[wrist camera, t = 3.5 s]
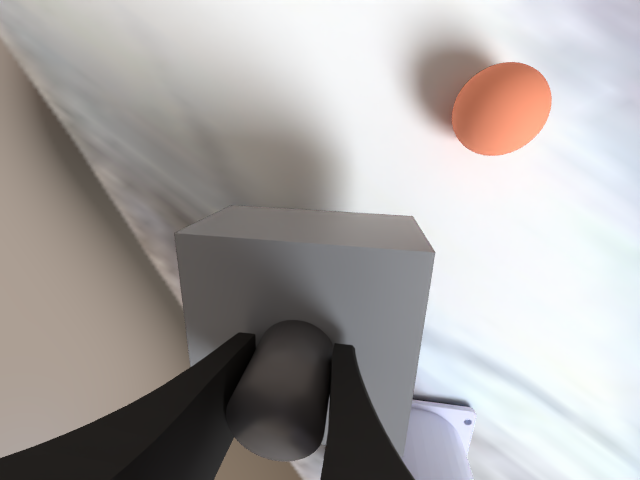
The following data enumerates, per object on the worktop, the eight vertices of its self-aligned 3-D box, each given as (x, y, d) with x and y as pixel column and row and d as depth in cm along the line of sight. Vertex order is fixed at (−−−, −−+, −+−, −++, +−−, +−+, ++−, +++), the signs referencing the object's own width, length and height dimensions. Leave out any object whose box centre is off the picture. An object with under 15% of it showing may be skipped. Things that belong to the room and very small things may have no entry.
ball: (514, 155, 17) (558, 159, 13) (438, 152, 17) (458, 155, 13) (532, 73, 16) (586, 50, 12) (449, 72, 16) (475, 50, 12)
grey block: (393, 371, 17) (414, 552, 9) (240, 352, 18) (151, 503, 10) (412, 216, 14) (464, 300, 7) (231, 205, 15) (104, 267, 8)
